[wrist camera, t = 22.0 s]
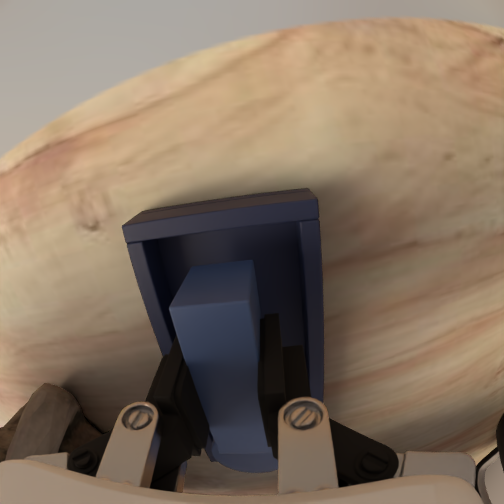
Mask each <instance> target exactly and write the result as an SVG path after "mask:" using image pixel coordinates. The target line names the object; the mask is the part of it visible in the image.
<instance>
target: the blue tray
mask: <svg viewBox="0 0 504 504" xmlns="http://www.w3.org/2000/svg"><path fill="white" fill-rule="evenodd" d="M318 218H319V206H318V199H317V198H316V197H315V196H314V194H313V193H312V192H311V191H310V190H309V189H308V188H305V189H295V190H286V191H277V192H269V193H261V194H253V195H245V196H237V197H230V198H223V199H216V200H209V201H202V202H195V203H189V204H183V205H176V206H170V207H164V208H158V209H153V210H147V211H142V212H141V213H139V214H138V215H136V216H135V217H134V218H132V219H131V220H129V221H128V222H127V223H125V224H124V225H122V230H123V233H124V237H125V241H126V243H127V248H128V252H129V255H130V259H131V262H132V266H133V269H134V273H135V276H136V279H137V282H138V286H139V289H140V292H141V295H142V298H143V301H144V304H145V307H146V310H147V313H148V316H149V319H150V322H151V325H152V328H153V330H154V333H155V336H156V339H157V341H158V344H159V347H160V349H161V352H162V355H163V356H164V355H165V354H169V352H170V350H171V347H172V345H173V342H174V339H175V337H176V331H175V327H174V324H173V320H172V317H171V314H170V310H169V307H170V305H171V303H172V301H173V299H174V297H175V296H176V294H177V292H178V290H179V288H180V287H181V285H182V283H183V281H184V280H185V278H186V276H187V274H188V272H189V271H190V269H191V267H192V266H200V265H209V264H218V263H227V262H235V261H244V260H253V262H254V268H255V275H256V282H257V289H258V296H259V303H260V310H261V317H262V318H264V314H273V313H279V320H280V330H281V339H282V347H287V346H295V345H303V349H304V355H305V361H306V367H307V374H308V380H309V386H310V392H311V398H315V399H317V400H319V401H321V402H322V403H323V396H324V302H323V273H322V253H321V236H320V221H319V219H318ZM212 442H213V436H212V433H211V431H210V428H209V433H208V439H207V445H206V448H204V449H205V451H206V453H207V455H208V457H209V459H210V461H211V462H218V461H217V460H216V459H215V458H214V456H213V455H212V451H211V448H212Z"/></svg>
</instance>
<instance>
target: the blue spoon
mask: <svg viewBox="0 0 504 504" xmlns="http://www.w3.org/2000/svg"><path fill="white" fill-rule="evenodd" d="M169 310H170V314H171V317H172V320H173V324H174V327H175V331H176V334H177V337H178V340H179V343H180V347H181V350H182V353H183V356H184V359H185V362H186V365H187V366H188V367H189V370H190V373H191V376H192V379H193V382H194V385H195V388H196V391H197V393H198V396H199V399H200V402H201V404H202V407H203V410H204V413H205V415H206V418H207V420H208V423H209V428H210V431H211V433H212V436H213V442H212V448H211V451H212V455H213V456H214V458H215V459H216V460H217V461H218V462H219V463H220V464H222V465H224V466H226V467H228V468H230V469H233V470H236V471H241V472H248V473H264V472H271V471H275V470H278V460H277V459H275V458H274V457H273V453H272V448H271V447H268V445H267V440H266V436H265V431H264V426H263V421H262V416H261V411H260V406H259V401H258V392H257V381H258V362H259V361H260V319H262V317H261V310H260V303H259V296H258V289H257V282H256V275H255V268H254V262H253V260H244V261H235V262H227V263H218V264H209V265H200V266H192V267H191V269H190V271H189V272H188V274H187V276H186V278H185V280H184V281H183V283H182V285H181V287H180V288H179V290H178V292H177V294H176V296H175V297H174V299H173V301H172V303H171V305H170V307H169Z"/></svg>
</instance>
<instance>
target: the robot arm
mask: <svg viewBox="0 0 504 504" xmlns="http://www.w3.org/2000/svg"><path fill="white" fill-rule="evenodd" d="M257 392H258V401H259V406H260V411H261V416H262V421H263V426H264V431H265V436H266V440H267V445H268V447H271V448H272V453H273V457H274V458H275V459H277V460H278V495H260V496H223V495H202V494H189V493H183V487H184V480H185V474H186V468H187V460H188V459H190V458H191V456H200V454H201V448H206V445H207V439H208V433H209V423H208V420H207V418H206V415H205V413H204V410H203V407H202V404H201V402H200V399H199V396H198V393H197V391H196V388H195V385H194V382H193V379H192V376H191V373H190V370H189V367H188V366H187V365H186V362H185V359H184V356H183V353H182V350H181V347H180V343H179V340H178V337H177V334H176V337H175V339H174V342H173V345H172V347H171V350H170V352H169V354H165V355H164V356H163V357H162V360H161V362H160V365H159V367H158V370H157V372H156V375H155V377H154V380H153V383H152V385H151V388H150V390H149V393H148V396H147V398H146V401H145V402H143V401H142V402H135V403H132V404H130V405H128V406H126V407H125V408H124V409H123V410H122V411H121V412H120V414H119V416H118V418H117V421H116V423H115V426H114V428H113V430H111V431H109V432H107V433H105V434H103V435H101V436H99V437H97V438H95V439H93V440H91V441H90V442H88V443H86V444H84V445H82V446H80V447H78V448H76V449H75V450H73V451H72V453H71V454H70V455H69V454H68V453H67V452H64V453H55V454H45V455H33V456H28V457H26V458H24V459H23V460H22V459H20V460H7V461H3V462H1V463H0V504H484V503H483V501H482V499H481V497H480V496H479V494H478V493H477V491H476V490H475V476H476V465H475V461H474V459H473V458H472V457H471V456H470V455H468V454H467V453H463V452H422V451H406V452H405V453H395V452H394V450H392V449H391V448H389V447H388V446H386V445H383V444H381V443H379V442H377V441H375V440H372V439H370V438H368V437H366V436H364V435H362V434H360V433H358V432H356V431H354V430H352V429H350V428H347V427H345V426H343V425H342V424H340V423H338V422H336V421H334V420H332V419H330V418H329V416H328V411H327V408H326V406H325V405H324V404H323V403H322V402H321V401H319V400H317V399H315V398H311V392H310V386H309V380H308V374H307V367H306V361H305V355H304V349H303V345H295V346H287V347H282V339H281V330H280V320H279V313H273V314H264V318H262V319H260V361H259V362H258V381H257Z"/></svg>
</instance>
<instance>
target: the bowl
mask: <svg viewBox="0 0 504 504" xmlns="http://www.w3.org/2000/svg"><path fill="white" fill-rule="evenodd" d="M101 435H103V434H102V433H101V432H99V431H98V430H97V429H95V428H94V427H93V426H92V425H91V424H90V423H89V422H88V421H87V420H86V419H85V417H84V415H83V413H82V410H81V407H80V405H79V403H78V402H77V400H76V399H75V397H74V396H73V395H72V394H71V393H70V392H68V391H66V390H64V389H62V388H60V387H58V386H56V385H53V384H50V383H44V384H43V385H42V386H41V387H40V388H39V389H38V390H36V391H35V392H34V393H33V394H32V396H31V398H30V400H29V401H28V403H26V404H25V405H24V406H23V407H22V408H20V409H19V411H18V412H17V413H16V414H15V415H14V417H13V418H12V419H11V420H10V421H9V422H8V423H7V424H6V425H5V426H4V427H1V428H0V463H1V462H3V461H7V460H20V459H22V460H23V459H24V458H26V457H28V456H33V455H45V454H55V453H64V452H67V453H68V454H69V455H70V454H71V453H72V451H73V450H75V449H76V448H78V447H80V446H82V445H84V444H86V443H88V442H90V441H91V440H93V439H95V438H97V437H99V436H101Z"/></svg>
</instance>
